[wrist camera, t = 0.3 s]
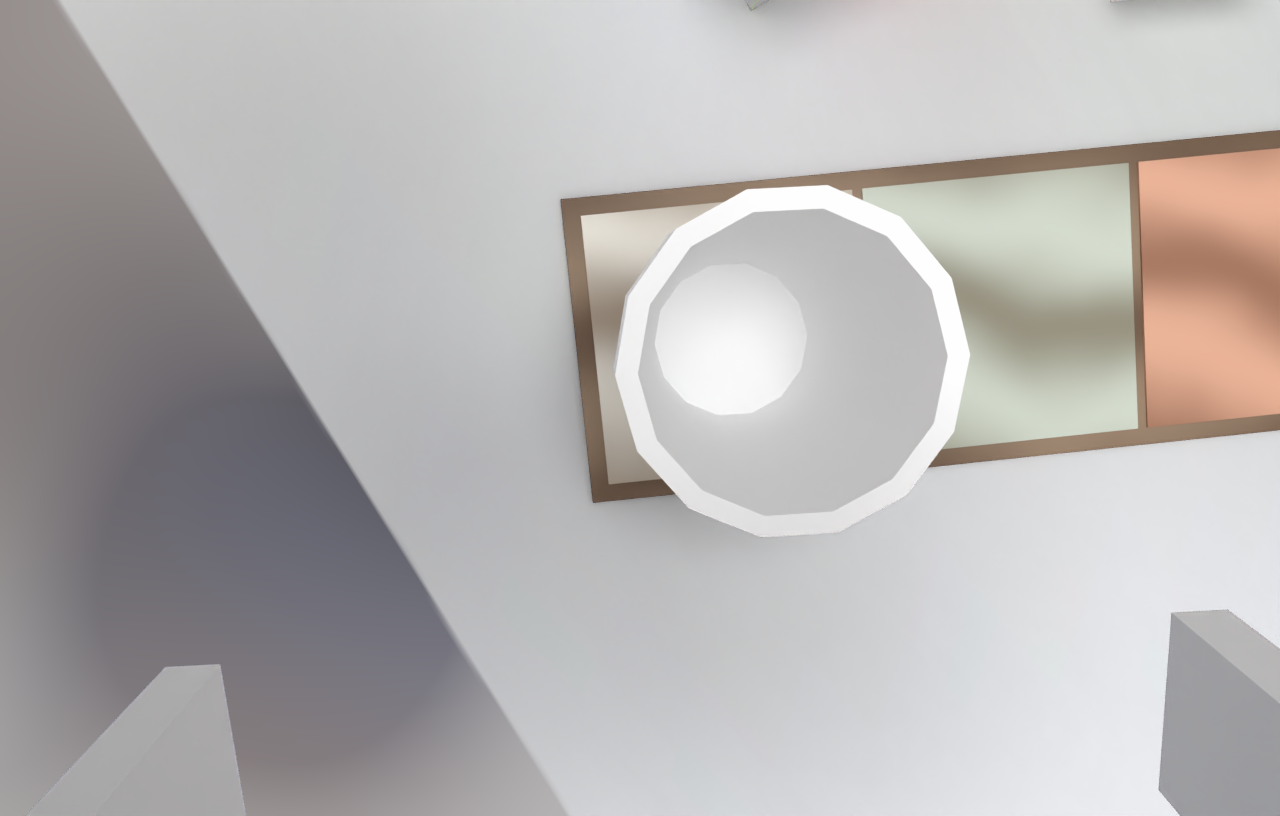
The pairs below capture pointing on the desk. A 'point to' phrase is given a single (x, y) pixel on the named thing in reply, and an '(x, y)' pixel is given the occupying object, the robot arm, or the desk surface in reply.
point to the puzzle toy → (755, 3)
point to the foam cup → (791, 360)
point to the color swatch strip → (1021, 293)
